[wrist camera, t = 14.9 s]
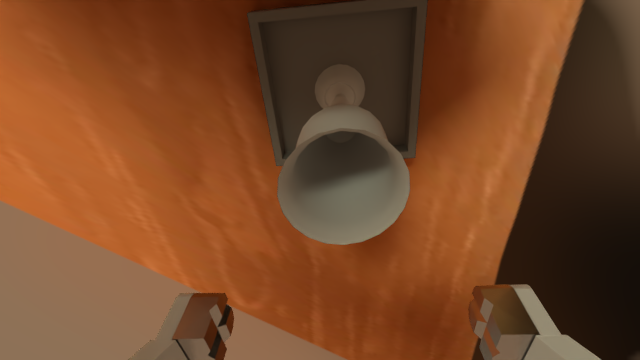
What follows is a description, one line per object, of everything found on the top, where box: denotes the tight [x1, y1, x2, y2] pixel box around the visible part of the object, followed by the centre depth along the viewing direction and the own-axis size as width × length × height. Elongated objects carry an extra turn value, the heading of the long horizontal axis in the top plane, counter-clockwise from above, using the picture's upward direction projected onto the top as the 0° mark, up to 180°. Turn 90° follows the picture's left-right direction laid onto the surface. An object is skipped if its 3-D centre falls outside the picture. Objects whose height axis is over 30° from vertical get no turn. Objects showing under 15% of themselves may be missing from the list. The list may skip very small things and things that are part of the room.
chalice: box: [277, 64, 410, 245], centre depth 24 cm, size 7×7×18 cm
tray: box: [247, 0, 428, 166], centre depth 31 cm, size 15×15×2 cm
